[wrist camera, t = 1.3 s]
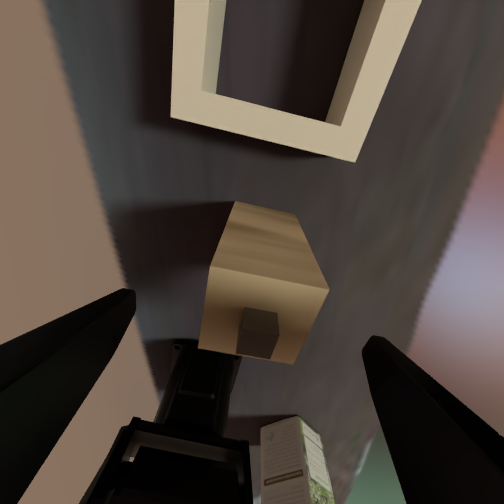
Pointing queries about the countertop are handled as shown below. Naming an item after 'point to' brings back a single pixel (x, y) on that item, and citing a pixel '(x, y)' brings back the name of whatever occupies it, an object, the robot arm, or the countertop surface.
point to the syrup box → (293, 464)
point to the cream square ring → (278, 122)
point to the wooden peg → (261, 287)
